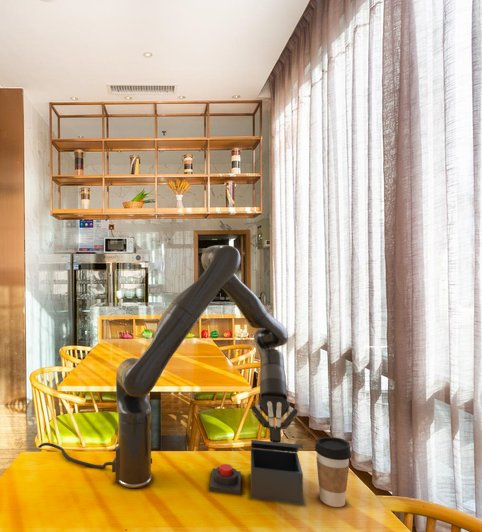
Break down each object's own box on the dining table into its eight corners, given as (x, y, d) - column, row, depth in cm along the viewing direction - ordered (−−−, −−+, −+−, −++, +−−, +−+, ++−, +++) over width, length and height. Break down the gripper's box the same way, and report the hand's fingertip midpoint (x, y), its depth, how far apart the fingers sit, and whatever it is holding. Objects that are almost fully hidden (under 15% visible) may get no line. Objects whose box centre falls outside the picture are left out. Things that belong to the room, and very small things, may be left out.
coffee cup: (354, 512, 97) (355, 450, 97) (317, 507, 98) (318, 447, 98) (345, 493, 105) (346, 436, 105) (311, 489, 107) (312, 433, 107)
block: (209, 491, 105) (209, 479, 105) (212, 472, 115) (212, 461, 115) (240, 495, 104) (240, 483, 104) (241, 475, 113) (241, 464, 113)
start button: (218, 476, 108) (218, 469, 108) (219, 469, 112) (219, 463, 112) (232, 477, 107) (232, 471, 107) (232, 470, 111) (232, 464, 111)
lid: (302, 448, 100) (302, 444, 100) (251, 443, 103) (251, 439, 103) (297, 452, 111) (297, 449, 111) (250, 447, 113) (250, 444, 114)
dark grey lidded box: (302, 504, 100) (302, 473, 100) (251, 498, 102) (251, 468, 102) (296, 480, 111) (297, 452, 111) (250, 475, 114) (250, 447, 114)
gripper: (250, 375, 116) (250, 434, 104) (297, 378, 113) (303, 439, 101) (249, 388, 121) (249, 446, 109) (295, 391, 118) (300, 451, 106)
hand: (275, 443), depth 105 cm, fingers closed
